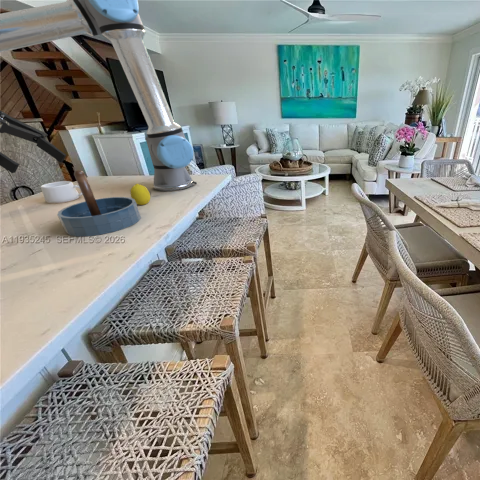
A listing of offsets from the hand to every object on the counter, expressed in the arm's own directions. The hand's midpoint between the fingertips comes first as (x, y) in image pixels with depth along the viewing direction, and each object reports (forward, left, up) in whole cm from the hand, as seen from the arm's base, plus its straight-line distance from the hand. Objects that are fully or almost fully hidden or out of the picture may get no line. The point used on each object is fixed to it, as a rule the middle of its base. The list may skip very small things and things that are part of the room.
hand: (41, 163), depth 69 cm
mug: (+3, -33, -18) cm, 38 cm away
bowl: (-8, +6, -18) cm, 21 cm away
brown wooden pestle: (-7, +5, -17) cm, 19 cm away
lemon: (-19, -7, -18) cm, 27 cm away
